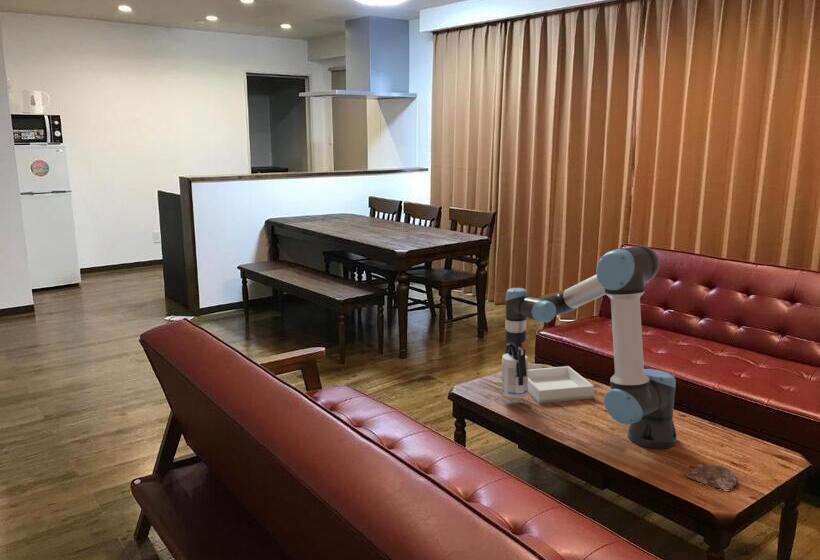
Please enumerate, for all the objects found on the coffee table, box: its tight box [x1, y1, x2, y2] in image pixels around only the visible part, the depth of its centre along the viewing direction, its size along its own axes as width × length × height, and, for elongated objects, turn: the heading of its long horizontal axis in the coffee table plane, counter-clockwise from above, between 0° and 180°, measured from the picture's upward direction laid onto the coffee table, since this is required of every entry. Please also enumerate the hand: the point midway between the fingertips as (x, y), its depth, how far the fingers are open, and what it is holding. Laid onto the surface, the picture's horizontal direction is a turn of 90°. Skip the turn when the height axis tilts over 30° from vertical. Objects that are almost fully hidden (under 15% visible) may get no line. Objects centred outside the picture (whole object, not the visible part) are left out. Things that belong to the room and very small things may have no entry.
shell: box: [685, 463, 738, 491], centre depth 191 cm, size 12×13×4 cm
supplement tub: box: [501, 353, 529, 399], centre depth 243 cm, size 10×10×15 cm
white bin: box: [527, 365, 595, 404], centre depth 257 cm, size 22×22×5 cm
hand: (514, 387), depth 244 cm, fingers closed on supplement tub, 10 cm apart
